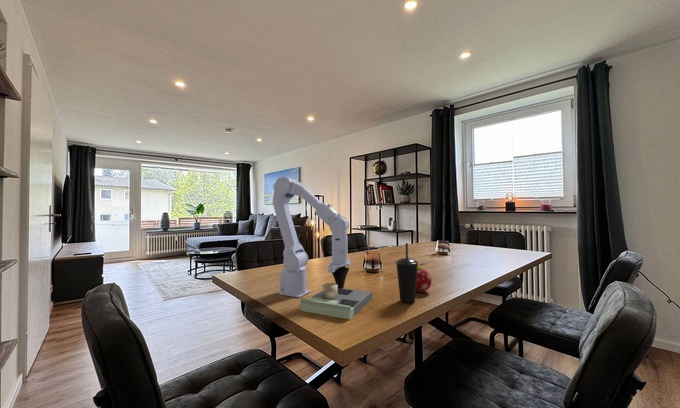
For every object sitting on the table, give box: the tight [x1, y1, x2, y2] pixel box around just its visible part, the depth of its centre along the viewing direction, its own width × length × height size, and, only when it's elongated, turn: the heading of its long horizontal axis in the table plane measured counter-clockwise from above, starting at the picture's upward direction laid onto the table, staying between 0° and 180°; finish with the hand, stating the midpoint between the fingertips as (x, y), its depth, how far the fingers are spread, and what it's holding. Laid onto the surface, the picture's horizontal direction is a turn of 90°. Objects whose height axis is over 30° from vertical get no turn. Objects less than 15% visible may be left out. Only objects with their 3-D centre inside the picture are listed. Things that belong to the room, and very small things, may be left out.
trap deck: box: [299, 287, 373, 320], centre depth 94 cm, size 17×20×4 cm
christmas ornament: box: [416, 264, 432, 293], centre depth 107 cm, size 9×9×10 cm
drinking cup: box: [395, 242, 419, 305], centre depth 96 cm, size 8×8×20 cm
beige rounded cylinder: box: [322, 282, 338, 300], centre depth 94 cm, size 5×5×4 cm
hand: (340, 288), depth 101 cm, fingers closed
